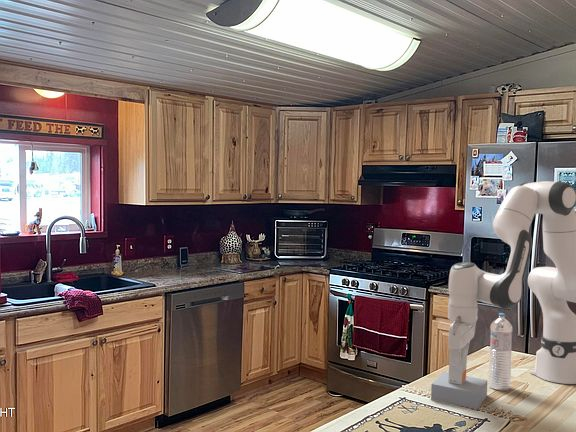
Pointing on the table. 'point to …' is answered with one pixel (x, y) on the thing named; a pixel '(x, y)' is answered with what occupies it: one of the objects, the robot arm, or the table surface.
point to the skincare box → (458, 367)
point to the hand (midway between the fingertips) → (461, 357)
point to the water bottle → (500, 354)
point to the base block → (459, 391)
